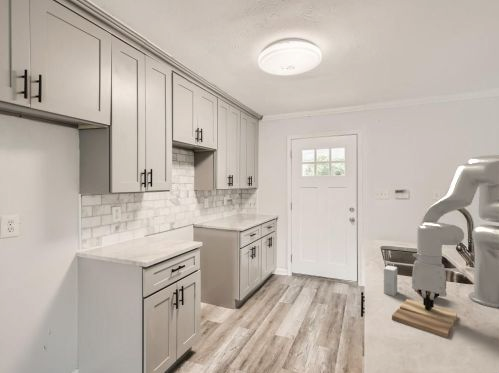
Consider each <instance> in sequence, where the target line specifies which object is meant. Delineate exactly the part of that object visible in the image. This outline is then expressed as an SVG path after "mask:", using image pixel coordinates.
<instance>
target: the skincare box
mask: <svg viewBox="0 0 499 373" xmlns="http://www.w3.org/2000/svg"><path fill="white" fill-rule="evenodd" d="M397 293H398V267H397V266H392V265H386V266H385V267H384V268H383V294H385V295H389V296H393V297H395V295H396V294H397Z"/></svg>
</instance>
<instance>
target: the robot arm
mask: <svg viewBox="0 0 499 373" xmlns="http://www.w3.org/2000/svg"><path fill="white" fill-rule="evenodd" d="M478 188H479V190H478ZM477 190H478V192H479V193H478V195H479V196H478V217H479V219H481V220H483V221H487V222H492V223H499V154H496V155H495V154H494V155H481V156H476V157H475V156H474V157H471V158H469V159H468V160H467V161H466V163H464V164H460V165H459V166H458V167H457V168H456V169H455V171H454V173H453V176H452V178H451V181H450V184H449V186H448V188H447V190H446V193H445V195H444V196H443V197H441V198H440V199H439V200H438V201H436V202H434V203H433V204H432V205H431V206H429V207H428V209H427V210H426V211H425V212H424V214H423V216H422V219H421V221H420V224H419V226H418V227H417V238H416V239H417V240H416V241H417V242H416V243H417V244H416V247H417V248H416V249H417V250H416V251H417V252H415V253H414V252H413V253H412V257H413V258H416V260H414V262H413V266H412V275H411V285H412V286H411V289H412V290H414V291H415V290H416V291H419V293H420V294H421V295H422V297H423V298H422V297H421V298H422V299H423V300H422V301H423V302H422V303H423V305H424V306H425V309H428V310H431V308H433V307H435V305H434V304H435V299H436V298H438V297H444V298H445V297H447V296H448V294H447V290H446V289H447V278H446V270H445V265H444V264H443V263H442V259H443V256H442V254H443V246H457V245H459V244H461V243H462V242H463V241H464V238H465V232H464V230H463V229H462V228H461V227H460V226H457V225H454V224H450V223H445V222H438V221H439V220H440V218H441V217H443V216H445V215H446V214H448V213H451V212H455V211H457V210H461V209H465V208H467V207H469V206H470V205H472V203H473V200H474V197H475V196H476V192H477ZM471 232H472V233H471V236H472V237H471V238H472V242H473V248H474V271H473V272H474V273H473V274H474V275H473V276H474V277H473V292H469V294H468V297H469V299H470V300H471V301H473V302H475V303H478V304H480V305H483V306H487V307H491V308H499V225H493V224H478V225H476V226H475V227H474V228H473V229H472V231H471ZM427 291H428V292H431V294H430V297H429V296H428V293H427Z"/></svg>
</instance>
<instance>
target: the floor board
mask: <svg viewBox="0 0 499 373" xmlns="http://www.w3.org/2000/svg"><path fill="white" fill-rule="evenodd" d="M391 321H395V322H398V323H401V324H404V325H408V326H410V327H413V328H416V329H419V330H421V331H425V332H428V333H431V334H434V335H438V336H440V337H443V338H446V339H448V338H449V336H450V334H451V331H452V330H453V328H452V324H449V323H445V322H442V321H439V320H435V319H432V318H429V317H425V316H422V315H419V314H416V313H412V312H409V311H406V310H402V309H400V307H398V308H397V309H396V310H395V312H393V314H392V315H391Z"/></svg>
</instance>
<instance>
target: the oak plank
mask: <svg viewBox="0 0 499 373" xmlns="http://www.w3.org/2000/svg"><path fill="white" fill-rule="evenodd" d="M399 309H402V310H406V311H409V312H412V313H416V314H419V315H422V316H425V317H429V318H432V319H435V320H439V321H442V322H445V323H449V324H452V327H453V326H454V324H455V322H456V320H457V318H458V312H455V311H451V310H448V309H445V308H440V307H437V306H434V307H433V308H431V310H428V309H425V306H424V305H423V302H419V301H415V300H412V299H408V298H406V300H405V301H403V303H402V304H400V306H399Z"/></svg>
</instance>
